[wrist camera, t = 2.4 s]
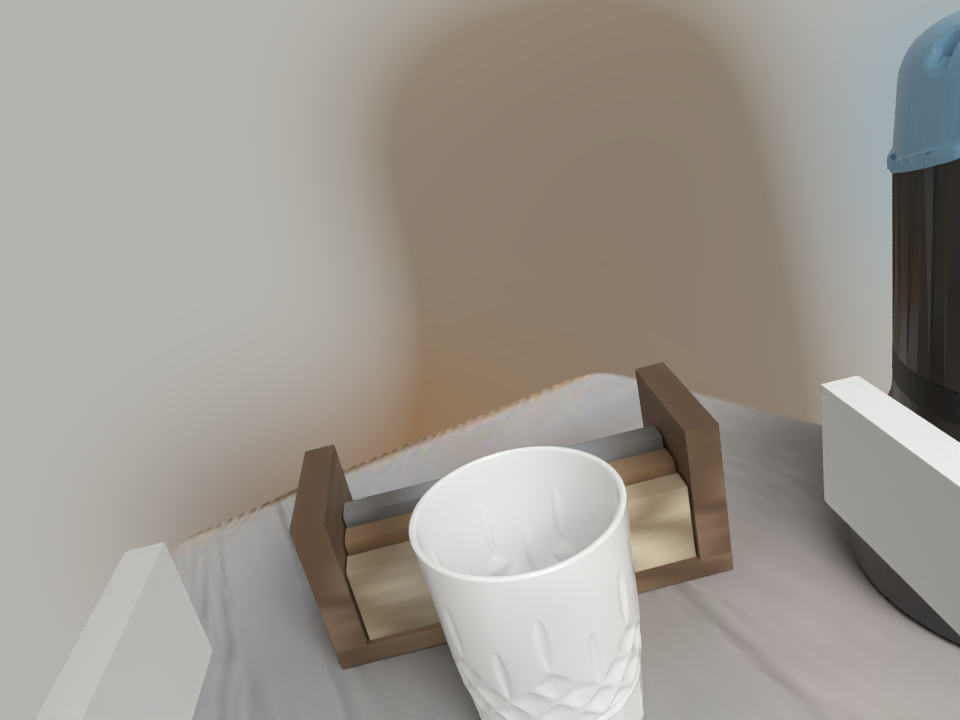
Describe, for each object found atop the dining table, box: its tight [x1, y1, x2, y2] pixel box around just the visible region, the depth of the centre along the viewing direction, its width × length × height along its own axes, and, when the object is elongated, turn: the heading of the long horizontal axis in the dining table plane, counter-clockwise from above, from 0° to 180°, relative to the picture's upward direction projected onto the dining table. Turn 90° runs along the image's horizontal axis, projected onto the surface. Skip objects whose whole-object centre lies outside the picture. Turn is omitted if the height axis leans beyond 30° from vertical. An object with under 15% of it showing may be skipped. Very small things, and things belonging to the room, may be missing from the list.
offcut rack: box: [289, 363, 733, 669], centre depth 37 cm, size 19×7×8 cm, turn 97°
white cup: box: [409, 446, 644, 720], centre depth 29 cm, size 8×8×10 cm
